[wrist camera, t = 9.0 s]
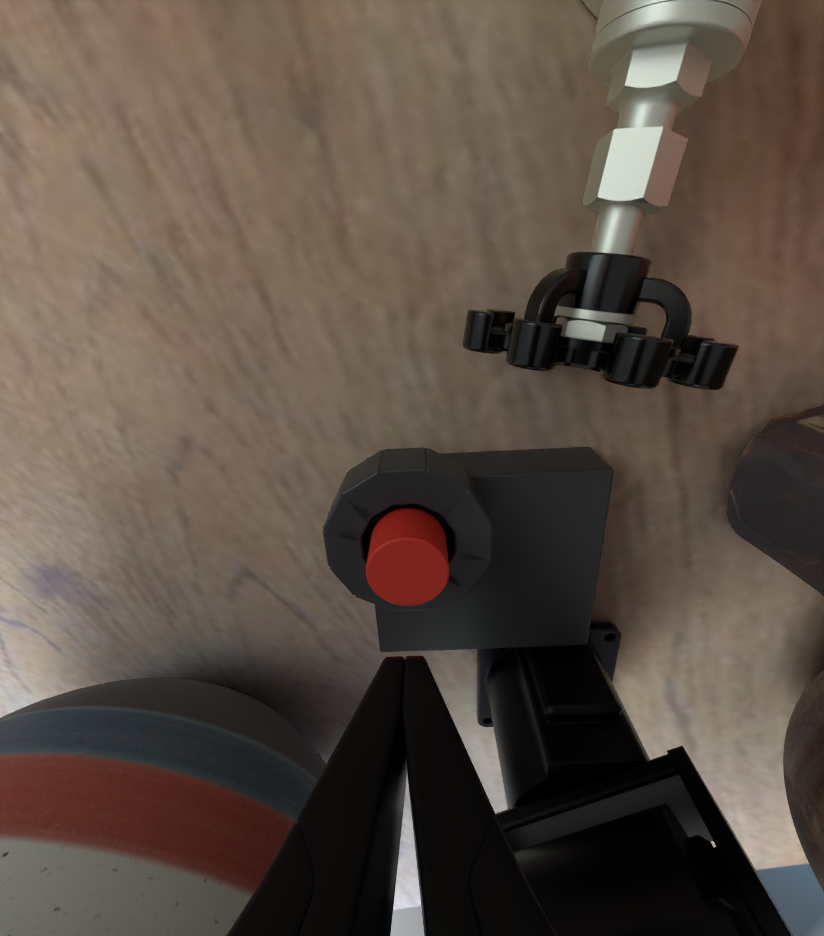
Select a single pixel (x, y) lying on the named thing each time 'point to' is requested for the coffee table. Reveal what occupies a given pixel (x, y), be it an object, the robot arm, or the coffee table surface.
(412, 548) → the button
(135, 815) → the planter
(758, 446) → the book
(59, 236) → the coffee table surface
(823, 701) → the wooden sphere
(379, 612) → the button box
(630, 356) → the valve
